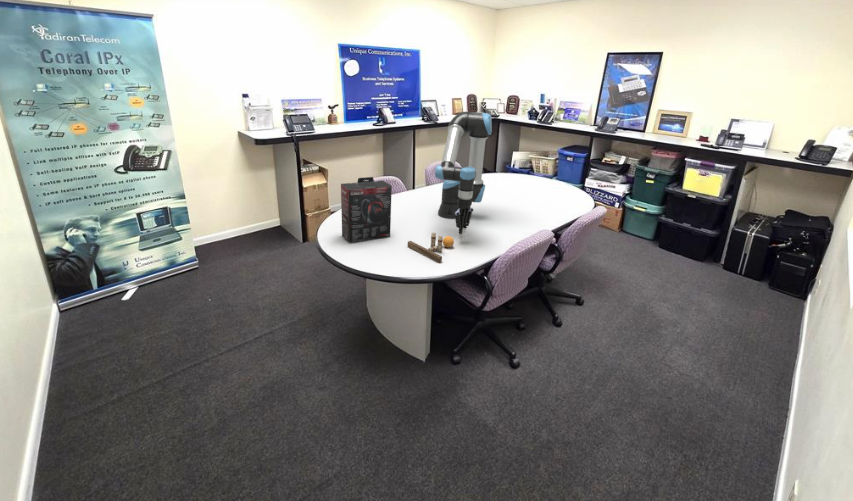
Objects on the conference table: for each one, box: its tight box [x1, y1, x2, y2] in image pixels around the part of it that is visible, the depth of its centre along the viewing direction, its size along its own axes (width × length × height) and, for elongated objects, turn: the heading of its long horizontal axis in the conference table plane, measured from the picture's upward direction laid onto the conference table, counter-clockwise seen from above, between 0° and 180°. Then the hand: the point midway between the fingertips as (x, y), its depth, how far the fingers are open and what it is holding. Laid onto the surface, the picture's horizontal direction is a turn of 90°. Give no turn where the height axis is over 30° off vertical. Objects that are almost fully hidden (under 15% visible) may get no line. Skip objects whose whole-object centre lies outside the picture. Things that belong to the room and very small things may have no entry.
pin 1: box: [430, 232, 437, 248], centre depth 216 cm, size 2×2×8 cm
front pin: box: [427, 244, 444, 253], centre depth 216 cm, size 2×2×8 cm
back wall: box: [407, 240, 443, 264], centre depth 211 cm, size 2×24×3 cm, turn 42°
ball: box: [442, 235, 455, 248], centre depth 220 cm, size 6×6×6 cm
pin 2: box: [436, 235, 444, 254], centre depth 213 cm, size 2×2×8 cm
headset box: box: [340, 176, 393, 244], centre depth 222 cm, size 25×12×33 cm, turn 120°
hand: (461, 238), depth 228 cm, fingers closed
